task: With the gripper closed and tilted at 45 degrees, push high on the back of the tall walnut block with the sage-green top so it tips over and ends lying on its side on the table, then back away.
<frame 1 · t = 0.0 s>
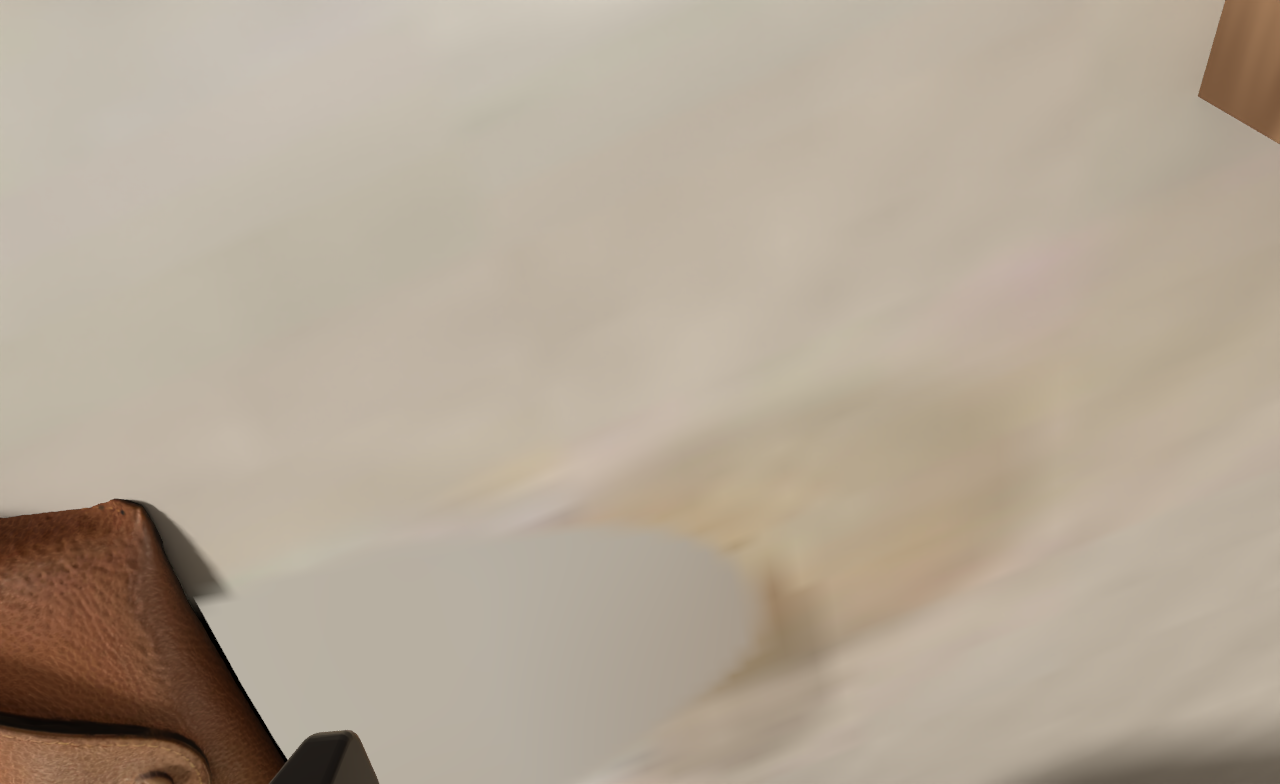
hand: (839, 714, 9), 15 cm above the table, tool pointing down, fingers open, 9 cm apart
sunglasses case: (151, 698, 32), on the table
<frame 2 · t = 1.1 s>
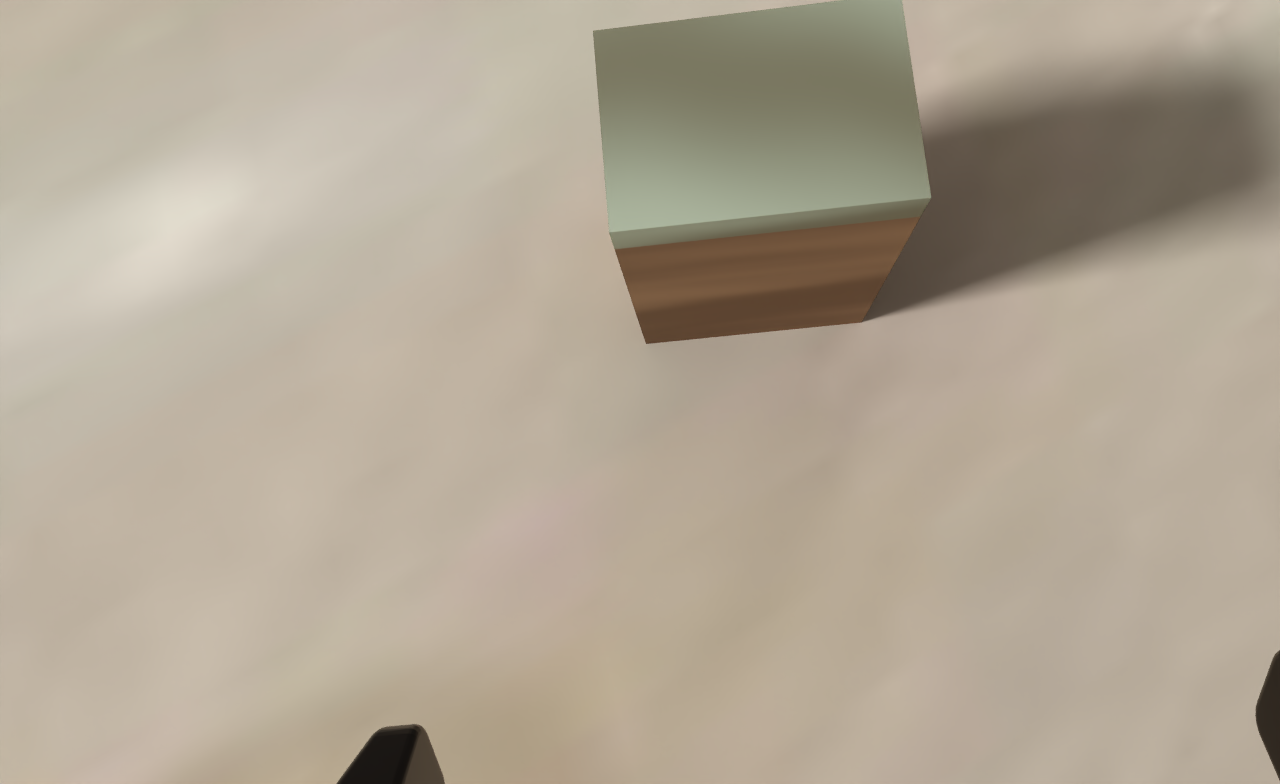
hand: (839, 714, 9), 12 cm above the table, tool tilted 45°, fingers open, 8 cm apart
walnut block: (745, 261, 23), on the table
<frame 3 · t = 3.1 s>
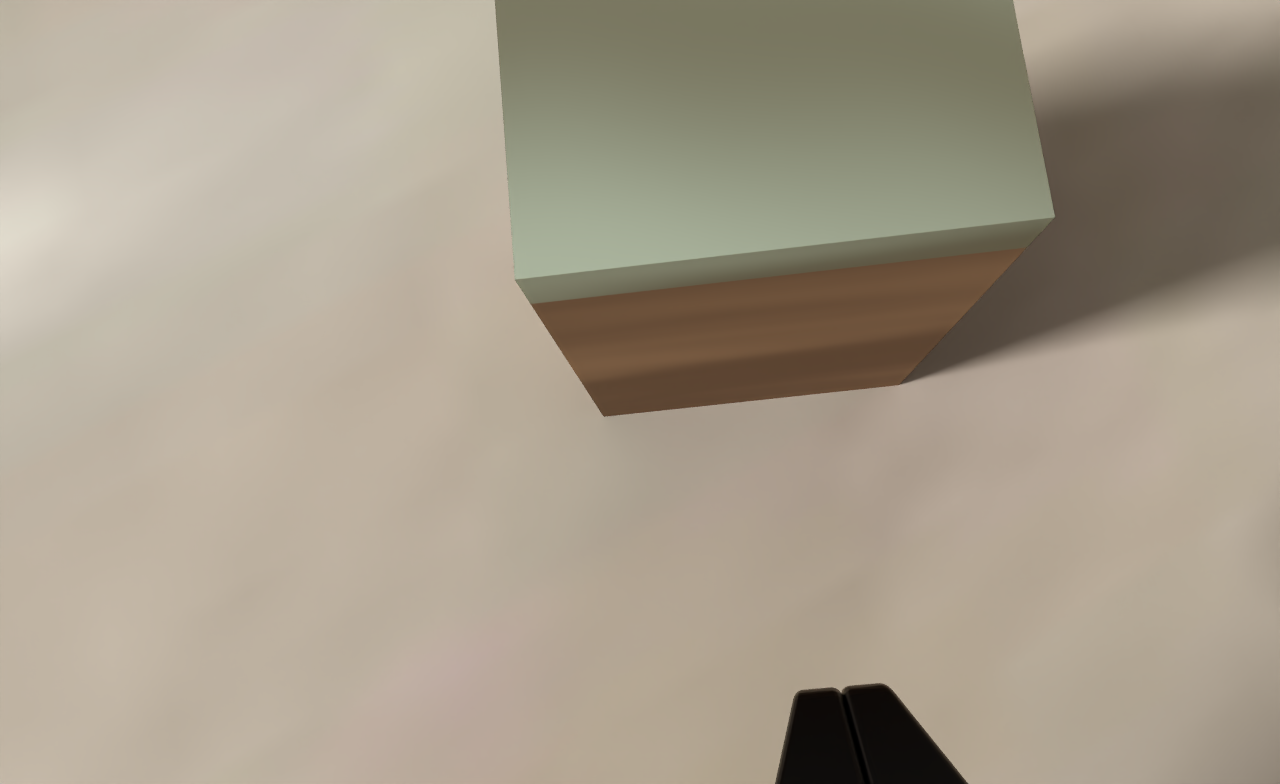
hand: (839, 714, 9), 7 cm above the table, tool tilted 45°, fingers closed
walnut block: (738, 302, 17), on the table
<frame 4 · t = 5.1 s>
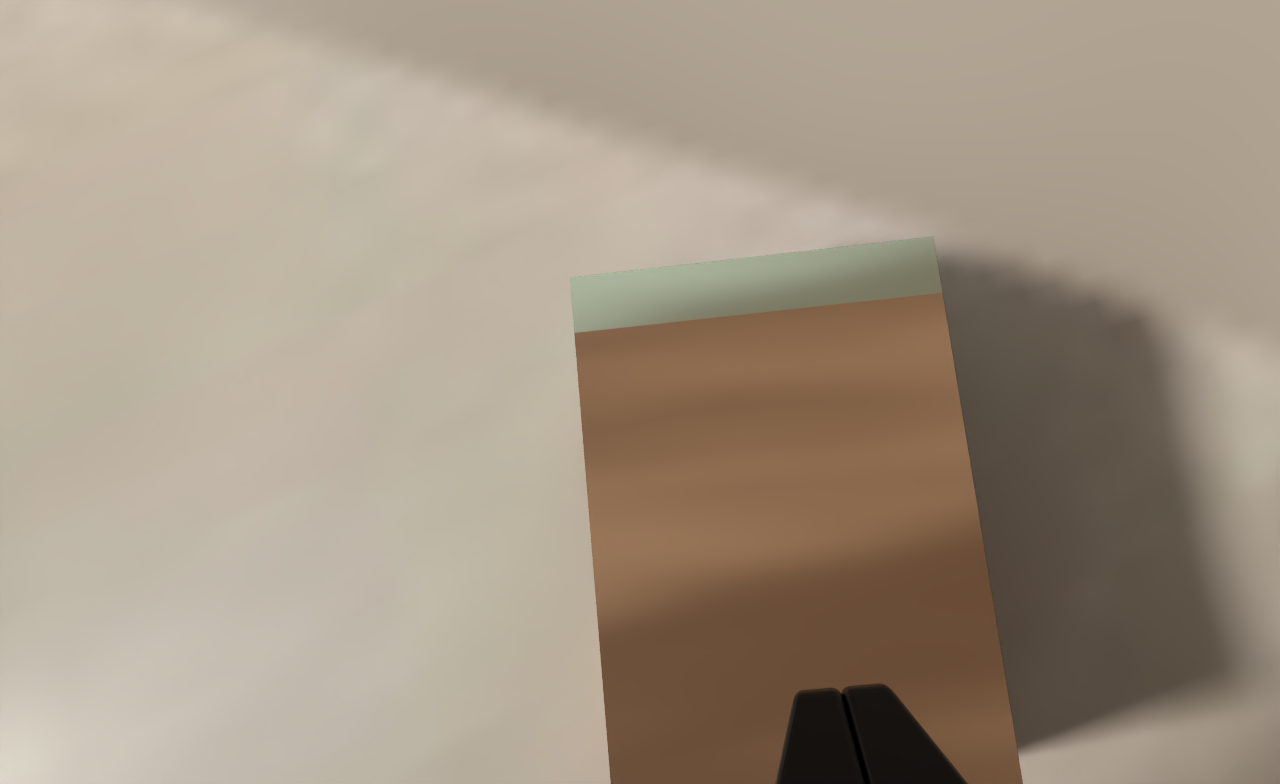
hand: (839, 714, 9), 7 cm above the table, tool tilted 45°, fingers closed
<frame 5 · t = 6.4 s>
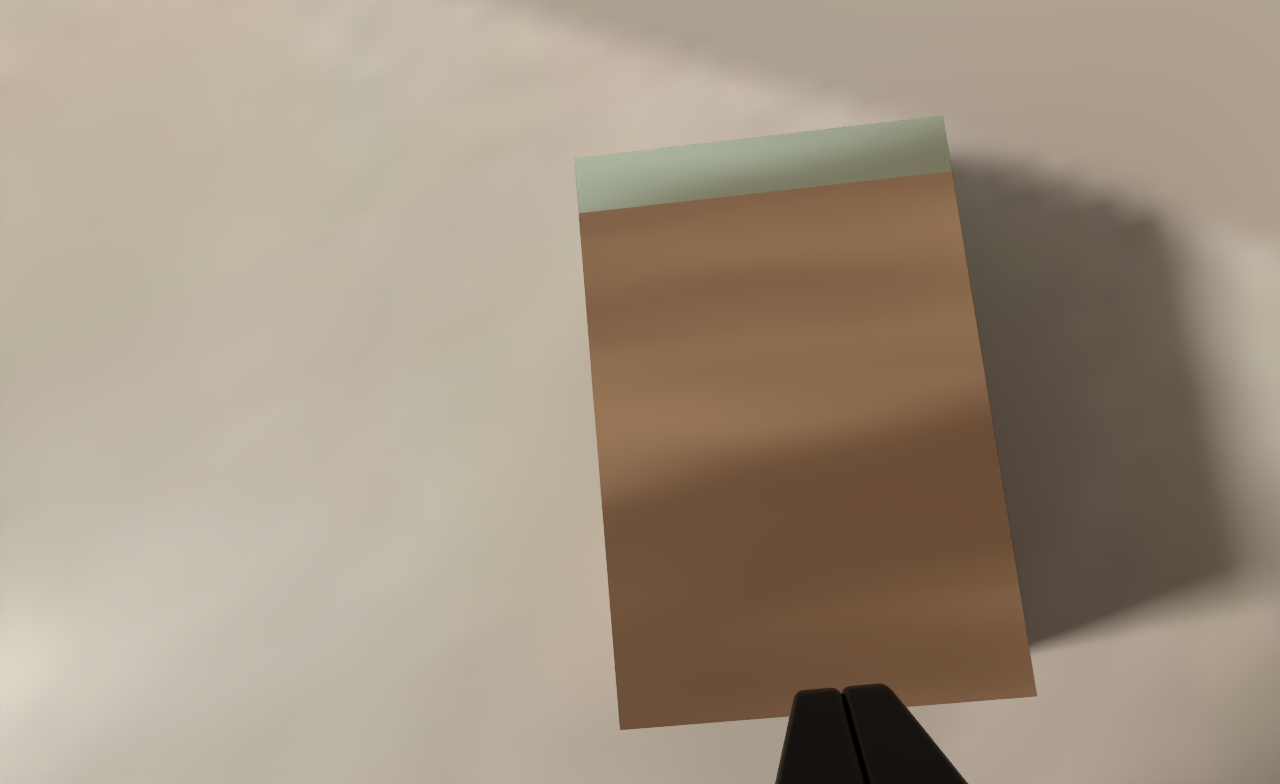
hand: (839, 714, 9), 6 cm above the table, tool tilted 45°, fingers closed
walnut block: (811, 695, 13), point 2 cm above the table, tilted 90°
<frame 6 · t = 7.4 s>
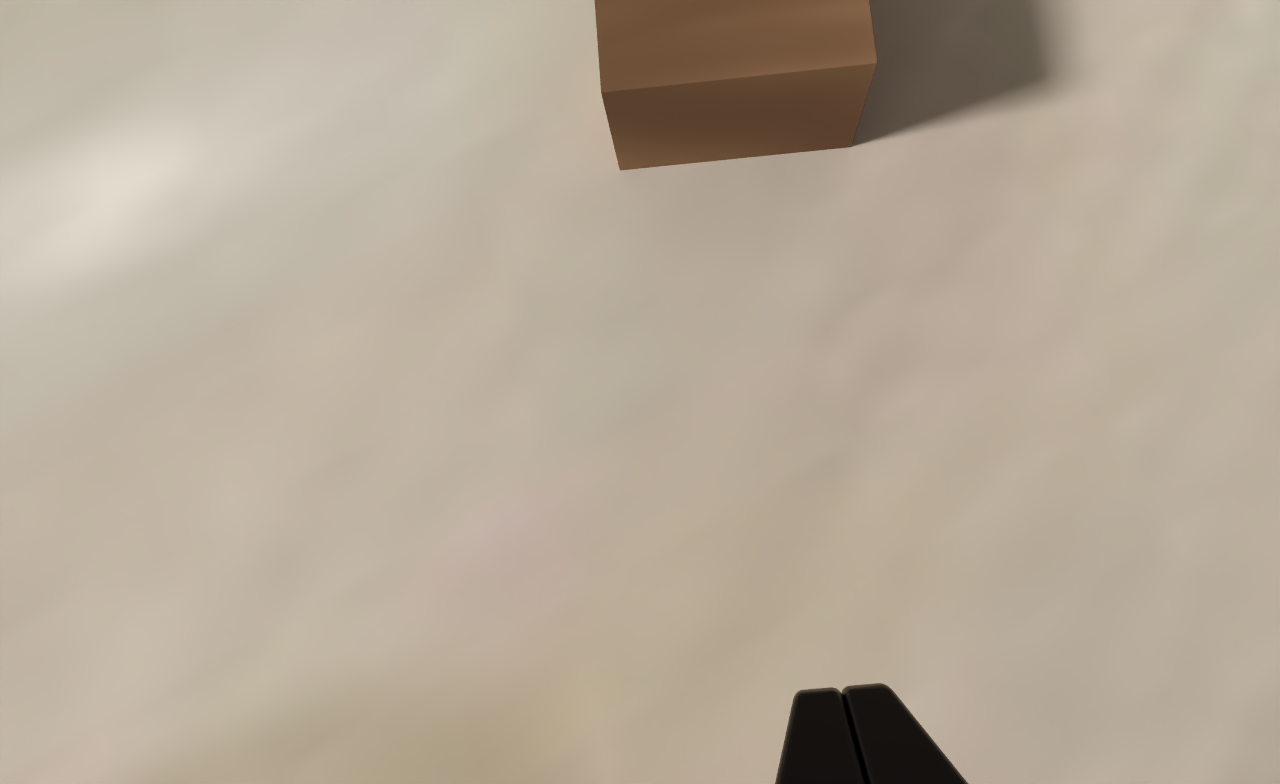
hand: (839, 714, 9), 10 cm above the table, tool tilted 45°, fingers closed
walnut block: (736, 122, 19), point 2 cm above the table, tilted 90°
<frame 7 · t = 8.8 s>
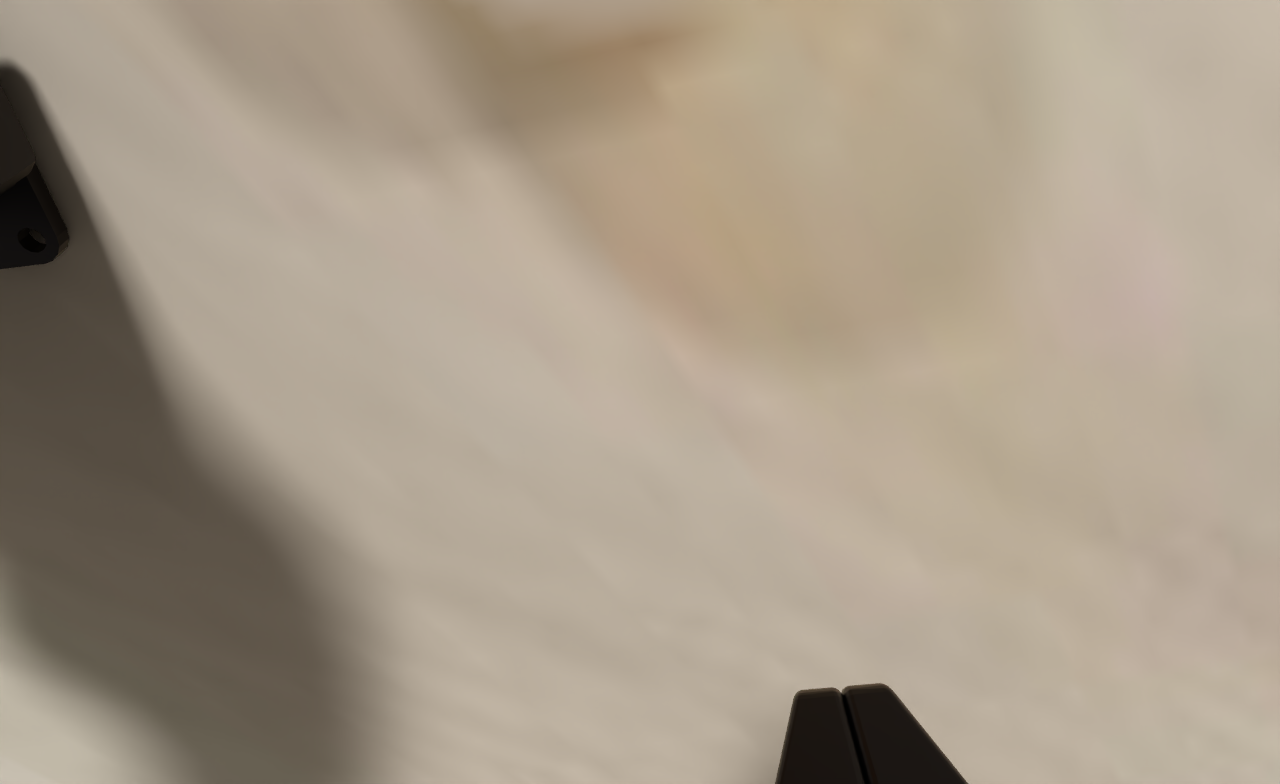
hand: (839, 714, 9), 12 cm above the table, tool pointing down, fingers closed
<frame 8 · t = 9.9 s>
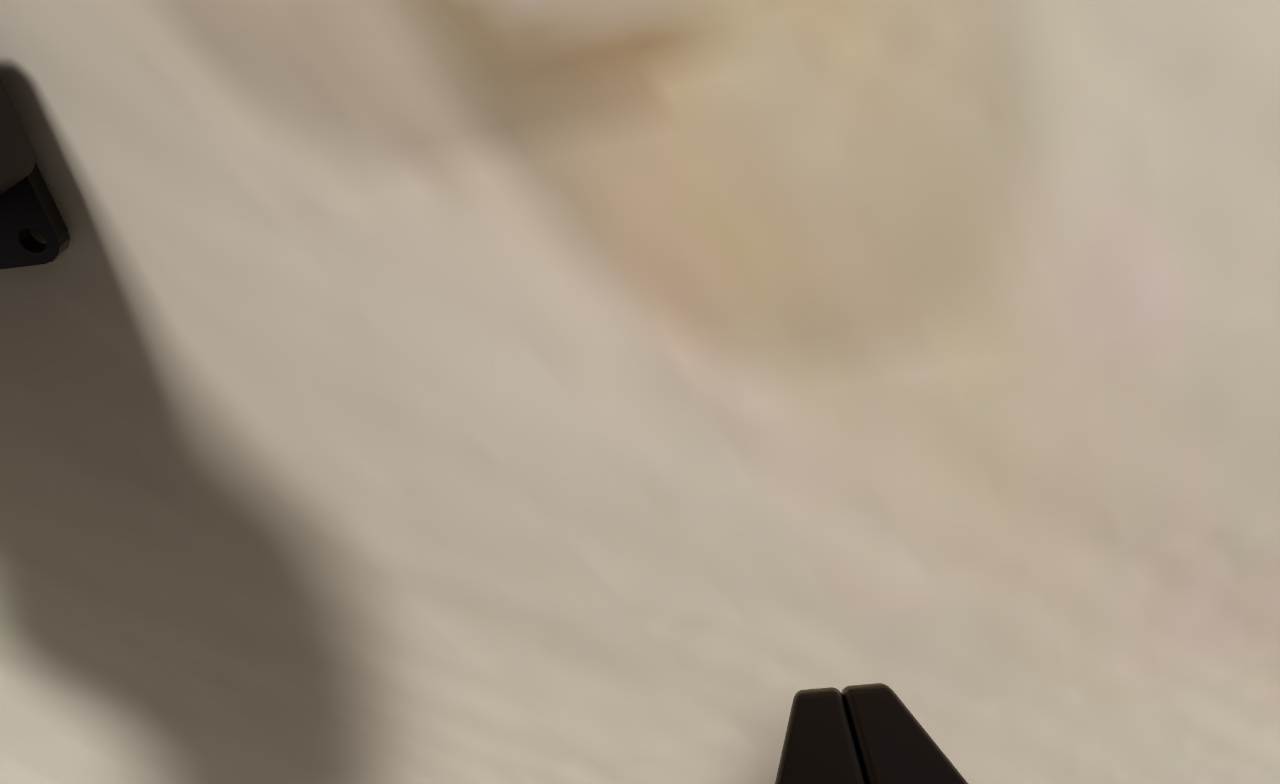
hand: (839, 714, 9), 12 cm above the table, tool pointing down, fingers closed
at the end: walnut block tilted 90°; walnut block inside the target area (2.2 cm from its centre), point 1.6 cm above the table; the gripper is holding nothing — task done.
